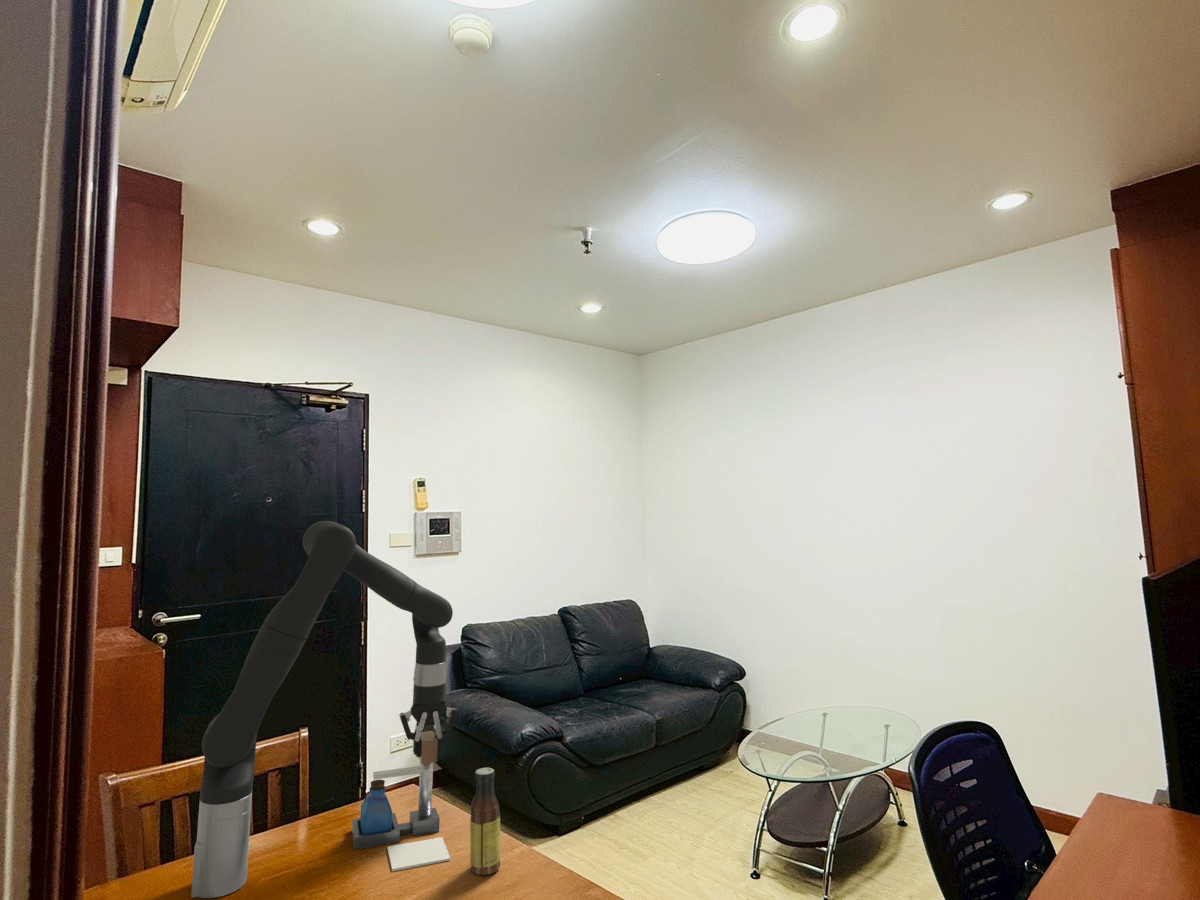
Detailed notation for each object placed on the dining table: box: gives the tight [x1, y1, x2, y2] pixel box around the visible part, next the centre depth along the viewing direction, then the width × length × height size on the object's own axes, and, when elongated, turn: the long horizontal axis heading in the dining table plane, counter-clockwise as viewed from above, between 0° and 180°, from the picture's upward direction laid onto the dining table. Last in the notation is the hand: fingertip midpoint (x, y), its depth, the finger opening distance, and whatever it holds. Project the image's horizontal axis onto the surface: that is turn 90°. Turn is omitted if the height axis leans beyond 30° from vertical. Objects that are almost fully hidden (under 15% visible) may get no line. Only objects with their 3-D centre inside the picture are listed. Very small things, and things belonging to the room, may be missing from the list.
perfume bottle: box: [359, 779, 393, 835], centre depth 153 cm, size 6×6×12 cm
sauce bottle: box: [469, 767, 502, 876], centre depth 140 cm, size 7×6×20 cm
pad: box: [387, 836, 451, 873], centre depth 144 cm, size 12×10×1 cm
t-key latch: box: [372, 730, 438, 816], centre depth 156 cm, size 14×7×18 cm, turn 113°
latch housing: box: [351, 807, 441, 851], centre depth 154 cm, size 19×10×3 cm, turn 113°
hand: (427, 754), depth 158 cm, fingers closed on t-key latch, 3 cm apart
